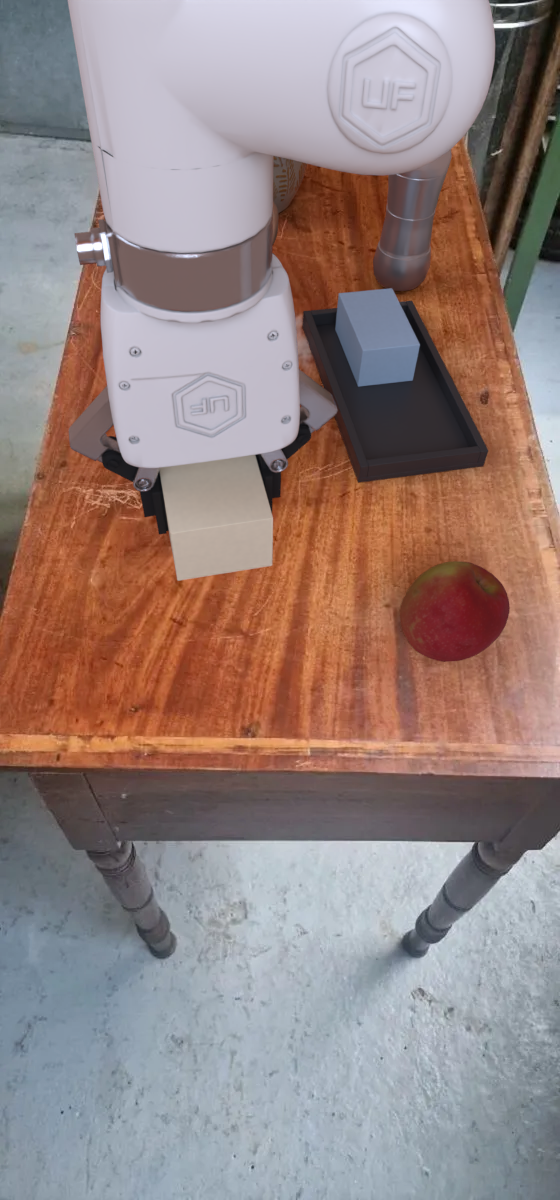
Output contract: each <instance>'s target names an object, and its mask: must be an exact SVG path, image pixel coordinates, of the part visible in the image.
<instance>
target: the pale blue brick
mask: <svg viewBox="0 0 560 1200" xmlns="http://www.w3.org/2000/svg"><path fill="white" fill-rule="evenodd" d="M337 297H338V298H337V306H336V308H337V316H336V327H335V330H336V332H337V335H338V337H339V340H340V342H341V345H342V347H343V350H344V352H345V355H346V358H347V360H348V363H349V365H350V368H351V370H352V373H353V375H354V378H355V380H356V383H357V385H358V387H360V386H369V385H378V384H387V383H396V382H404V381H412V380H413V377H414V372H415V367H416V362H417V357H418V352H419V347H420V344H419V342H418V339H417V337H416V335H415V333H414V331H413V329H412V327H411V325H410V323H409V321H408V319H407V317H406V315H405V313H404V311H403V309H402V307H401V305H400V303H399V302H400V300H399V299H398V297H397V295H396V293H395V291H394V290H393V289H392V288H389V289H387V288H380V289H378V288H377V289H368V290H359V291H349V292H348V291H347V292H338V296H337Z"/></svg>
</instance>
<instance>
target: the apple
mask: <svg viewBox="0 0 560 1200" xmlns="http://www.w3.org/2000/svg"><path fill="white" fill-rule="evenodd" d="M510 606H511V605H510V600H509V596H508V592H507V590H506V588H505V587H504V585H503V583H502V582H501V581H500V580H499V579H498V578H497V577H496V576H495V575H494V574H493V573H492V572H490V571H489V570H487V569H486V568H484V567H483V566H480V565H478V564H475V563H474V562H470V561H469V562H468V561H459V560H457V561H456V560H454V561H453V560H452V561H446V562H442V563H439V564H436V565H434V566H431V567H430V568H428V569H426V570H425V571H424V572H422V573H421V574H419V576H418V577H417V578H415V579H414V581H413V582H412V583H411V584H410V586H409V587H408V589H407V590H406V591H405V594H404V595H403V598H402V600H401V604H400V606H399V607H400V608H399V622H400V625H401V629H402V632H403V634H404V636H405V638H406V640H407V642H408V644H409V645H410V646H411V647H412V649H414V650H415V651H416V652H417V653H419V654H420V655H421V656H423V657H426V658H428V659H431V660H434V661H438V662H444V663H445V662H446V663H451V662H460V661H463V660H467V659H468V660H469V659H471V658H473V657H475V656H477V655H479V654H480V653H483V652H484V651H485V650H486V649H487V648H489V647H490V646H491V645H492V644H493V643H494V642H495V641H496V640H497V639H498V638H499V637H500V636H501V634H502V633H503V631H504V630H505V628H506V625H507V623H508V620H509V616H510Z"/></svg>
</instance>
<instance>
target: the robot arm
mask: <svg viewBox="0 0 560 1200" xmlns="http://www.w3.org/2000/svg"><path fill="white" fill-rule="evenodd" d="M67 6H68V12H69V17H70V18H69V19H70V23H71V30H72V36H73V42H74V46H75V53H76V59H77V64H78V71H79V77H80V82H81V89H82V94H83V95H82V96H83V100H84V106H85V112H86V117H87V123H88V129H89V135H90V142H91V147H92V153H93V160H94V165H95V172H96V177H97V181H98V182H97V183H98V189H99V194H100V200H101V207H102V213H103V215H104V219H103V218H102V219H98V227H90V231H83V232H74V233H73V234H74V241H75V247H76V252H77V258H78V261H79V265H80V266H85V265H94V264H95V265H96V267H105V270H104V272H103V274H102V279H101V293H100V333H101V334H100V335H101V345H102V358H103V365H104V373H105V381H106V386H105V387H104V388H103V390H101V391H100V393H99V394H98V395H97V396H96V397H95V398H94V400H93V401H92V402H91V403H89V405H88V406H86V408H85V409H84V410H83V412H82V413H81V414H80V415H79V416H78V417H77V418H76V419H75V420H74V422H73V423H72V424H71V425H70V426H69V428H68V440H69V441H68V442H69V447H70V449H71V450H72V451H73V452H76V453H77V454H80V455H81V456H83V457H86V458H88V459H90V460H92V461H94V462H97V461H98V462H99V463H102V466H103V468H105V469H106V470H108V471H109V472H112V473H113V474H116V475H118V476H119V477H121V478H124V479H126V480H128V481H130V482H132V485H133V486H132V487H133V488H134V490H136V491H138V492H139V494H140V500H141V505H142V510H143V515H144V518H148V517H155V520H156V525H157V526H156V527H157V532H158V535H165V534H168V533H167V532H169V529H168V522H167V516H166V509H165V502H164V496H163V490H162V484H161V478H160V473H159V470H160V468H161V467H170V466H177V465H185V464H193V463H200V462H208V461H215V460H222V459H229V458H236V457H243V456H249V455H256V459H257V462H258V466H259V470H260V473H261V477H262V480H263V484H264V487H265V491H266V494H267V498H268V501H269V505H270V509H271V512H272V513H273V499H277V498H281V492H282V491H281V489H282V488H281V485H282V472H284V471H285V470H286V469H287V468H288V466H289V461H288V460H289V459H290V458H291V457H292V456H293V455H294V454H296V453H297V452H298V451H299V450H300V449H302V448H303V447H304V446H305V445H306V444H307V443H308V442H309V441H310V440H311V438H312V434H313V433H314V432H318V431H319V430H320V429H321V428H323V426H324V425H326V424H327V423H328V422H329V421H330V420H332V419H333V418H335V417H334V416H335V415H336V413H337V407H336V404H335V401H334V399H333V396H332V394H331V393H330V392H328V391H327V390H326V389H324V386H323V385H321V384H319V383H318V382H317V381H315V380H314V379H313V378H311V377H310V376H309V375H307V373H305V372H304V371H302V370H301V369H300V367H299V365H300V363H299V362H300V361H299V348H298V347H299V346H298V330H297V320H296V314H295V313H296V312H295V304H294V298H293V292H292V287H291V283H290V278H289V274H288V273H287V270H286V269H285V267H284V266H283V264H282V262H281V260H280V259H279V258H278V257H277V256H276V255H275V253H273V246H272V237H273V210H272V209H273V156H277V157H282V158H286V159H291V160H295V161H299V162H303V163H307V165H311V166H314V167H319V168H323V169H327V170H331V171H337V172H342V173H348V174H354V175H361V176H388V175H394V174H399V173H404V172H409V171H413V170H416V169H418V168H421V167H423V166H426V165H428V164H430V163H431V162H433V161H435V160H437V159H438V158H440V157H442V156H443V155H444V154H445V153H447V152H448V151H449V150H451V151H452V149H453V148H454V147H455V146H456V145H457V144H458V143H459V142H460V141H461V140H462V139H463V138H464V137H465V135H466V134H467V133H468V132H469V130H470V129H471V127H473V125H474V123H475V122H476V120H477V117H478V116H479V114H480V112H481V111H482V109H483V106H484V104H485V101H486V98H487V96H488V93H489V91H490V87H491V83H492V77H493V71H494V66H495V61H496V59H495V58H496V34H495V25H494V19H493V12H492V7H491V3H490V1H489V0H67ZM111 428H113V429H114V433H115V436H114V435H107V433H108V431H109V430H110V429H111ZM132 438H133V439H132Z"/></svg>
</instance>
